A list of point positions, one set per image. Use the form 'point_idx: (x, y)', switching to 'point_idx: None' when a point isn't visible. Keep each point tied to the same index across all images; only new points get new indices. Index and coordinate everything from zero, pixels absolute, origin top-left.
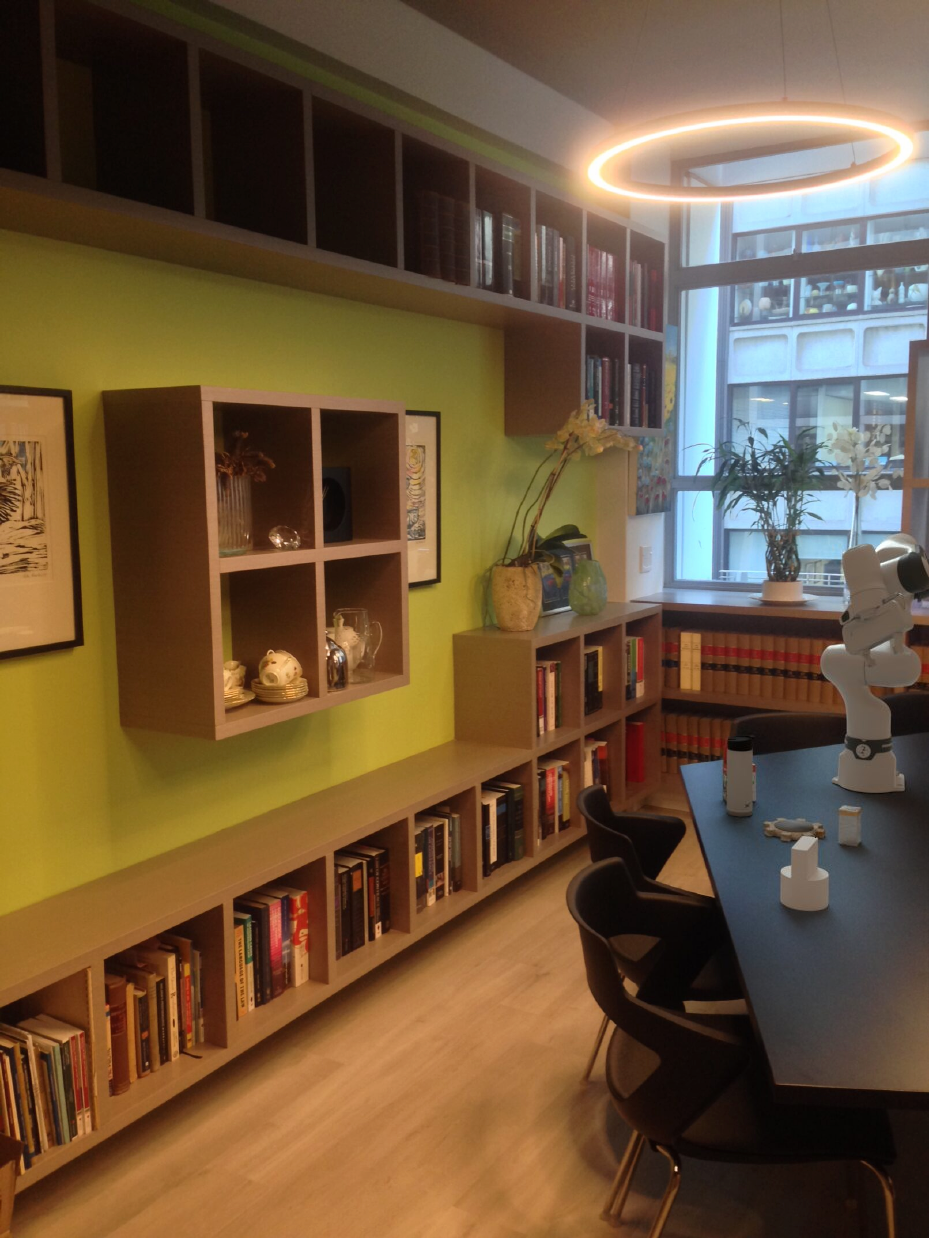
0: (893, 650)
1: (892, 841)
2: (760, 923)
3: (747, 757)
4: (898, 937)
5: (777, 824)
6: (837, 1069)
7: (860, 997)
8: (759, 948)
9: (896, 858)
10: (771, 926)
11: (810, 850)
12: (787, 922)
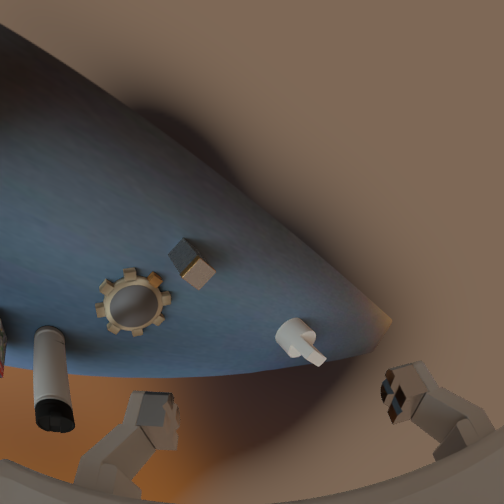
0: (389, 407)
1: (196, 198)
2: None
3: (69, 397)
4: (345, 292)
5: (127, 323)
6: (378, 338)
7: (364, 324)
8: None
9: (246, 226)
10: None
11: (321, 354)
12: None
